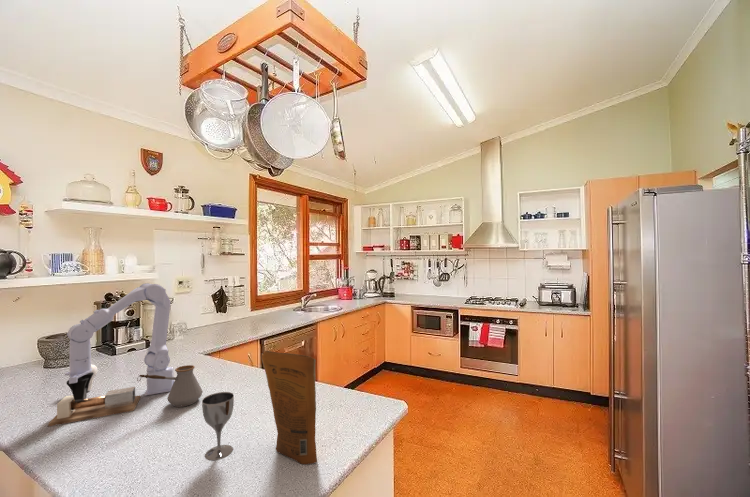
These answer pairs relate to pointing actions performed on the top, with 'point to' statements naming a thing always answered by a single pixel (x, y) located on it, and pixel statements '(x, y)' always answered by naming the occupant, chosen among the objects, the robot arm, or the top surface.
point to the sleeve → (120, 397)
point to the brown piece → (87, 402)
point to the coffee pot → (182, 386)
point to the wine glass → (218, 420)
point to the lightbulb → (94, 370)
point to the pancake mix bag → (293, 403)
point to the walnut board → (93, 413)
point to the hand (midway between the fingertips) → (80, 397)
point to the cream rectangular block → (65, 407)
